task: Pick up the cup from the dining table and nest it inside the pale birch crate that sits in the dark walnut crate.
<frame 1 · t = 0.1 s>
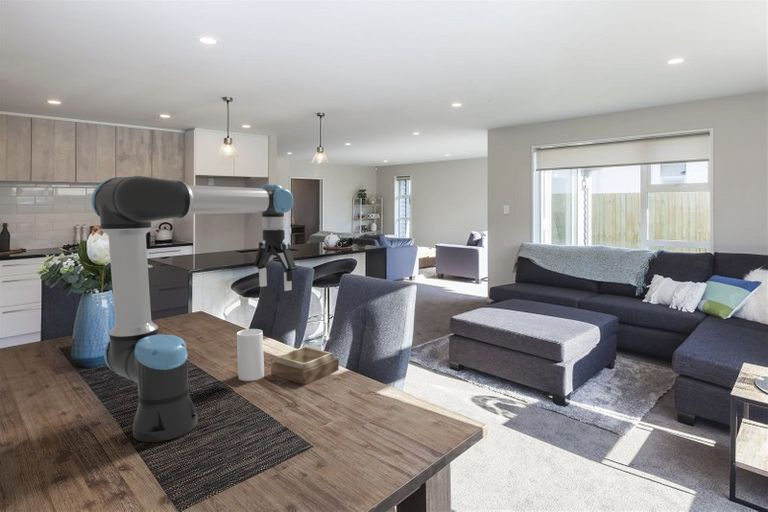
hand: (275, 288, 160), 28 cm above the table, fingers open, 13 cm apart
walnut crate: (305, 374, 152), on the table
birch crate: (305, 371, 152), resting on walnut crate
cup: (251, 379, 149), on the table
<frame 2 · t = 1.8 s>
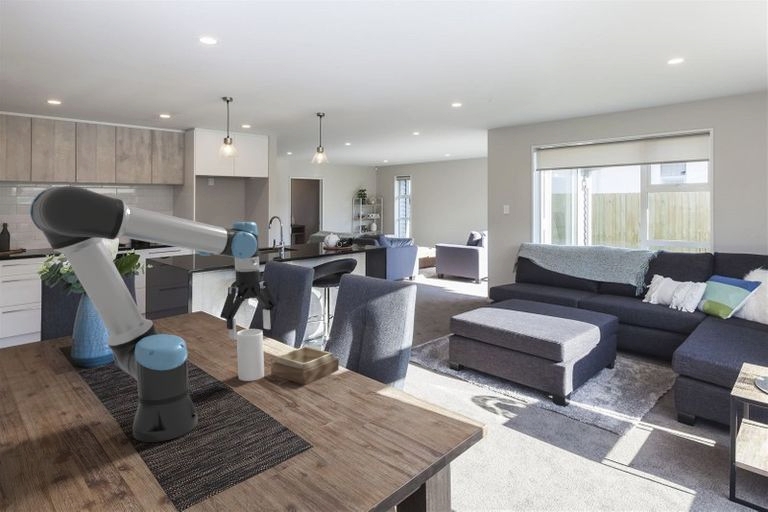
hand: (250, 333, 147), 15 cm above the table, fingers open, 13 cm apart
nothing on the table moved.
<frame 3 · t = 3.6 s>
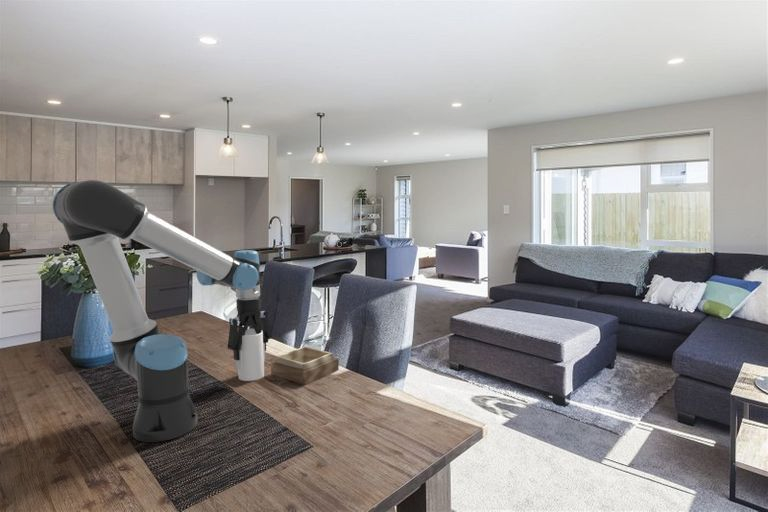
hand: (250, 365, 148), 5 cm above the table, fingers closed on cup, 8 cm apart
cup: (251, 379, 149), on the table, touching gripper
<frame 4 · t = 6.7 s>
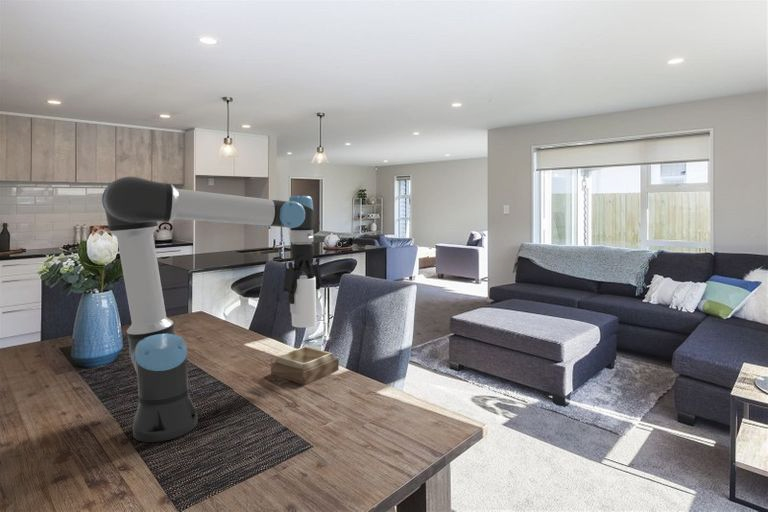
hand: (303, 310, 150), 22 cm above the table, fingers closed on cup, 8 cm apart
cup: (304, 324, 150), point 17 cm above the table, touching gripper
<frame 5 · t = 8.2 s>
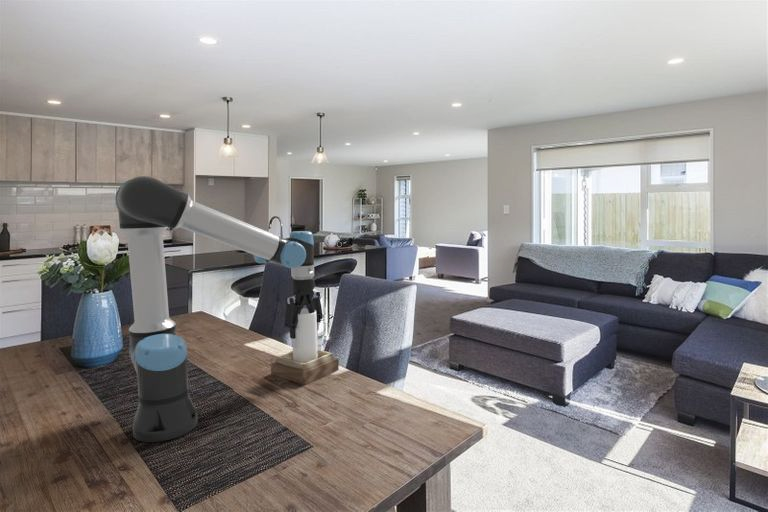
hand: (304, 343, 151), 11 cm above the table, fingers closed on cup, 8 cm apart
cup: (305, 358, 152), point 6 cm above the table, touching gripper
when the fingers open (8 cm above the table, at t = 9.6 s): cup drops 1 cm, resting on birch crate.
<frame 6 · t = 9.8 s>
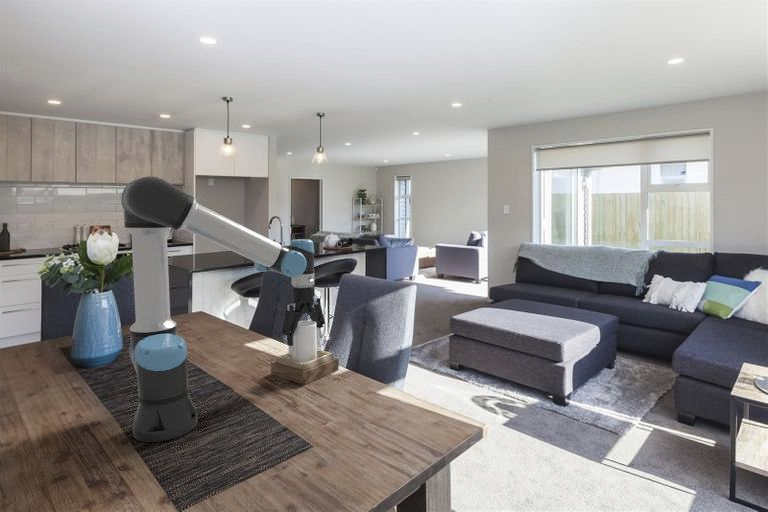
hand: (304, 350, 151), 9 cm above the table, fingers open, 10 cm apart
cup: (305, 370, 152), point 2 cm above the table, touching birch crate
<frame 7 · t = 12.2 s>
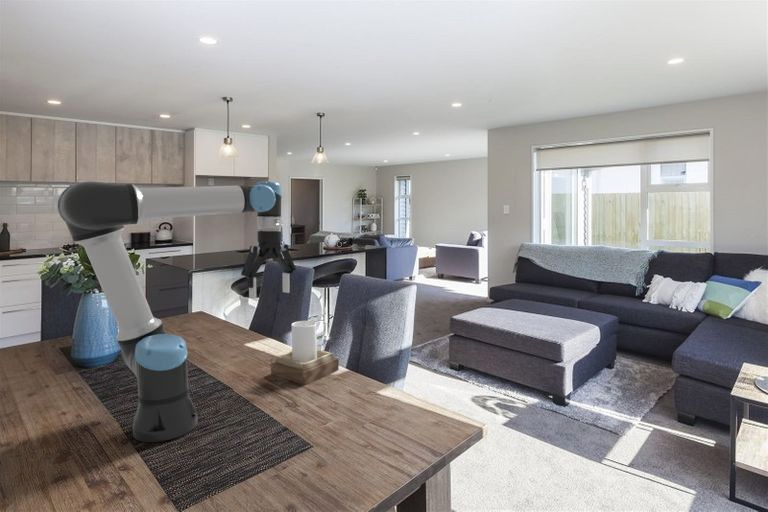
hand: (270, 295, 147), 28 cm above the table, fingers open, 13 cm apart
nothing on the table moved.
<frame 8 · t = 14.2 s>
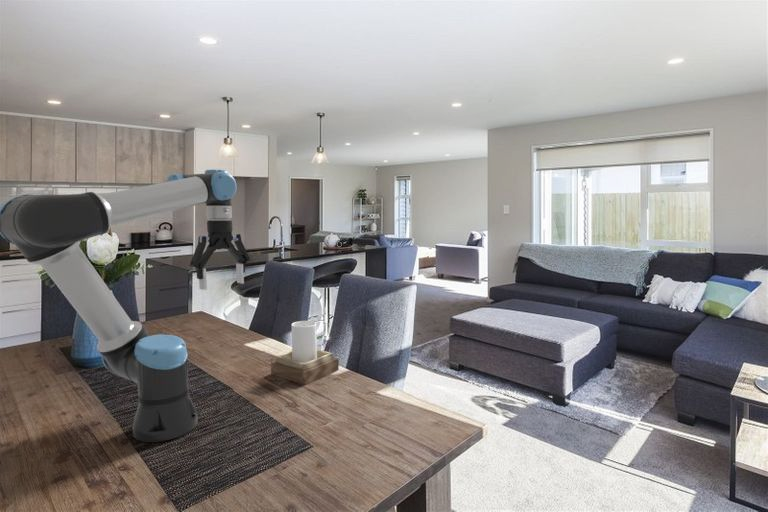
hand: (222, 286, 143), 32 cm above the table, fingers open, 13 cm apart
nothing on the table moved.
at the end: cup inside the target area on the birch crate (0.1 cm from its centre), point 0.6 cm above the birch crate's base; cup tilted 0°; the gripper is holding nothing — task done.
